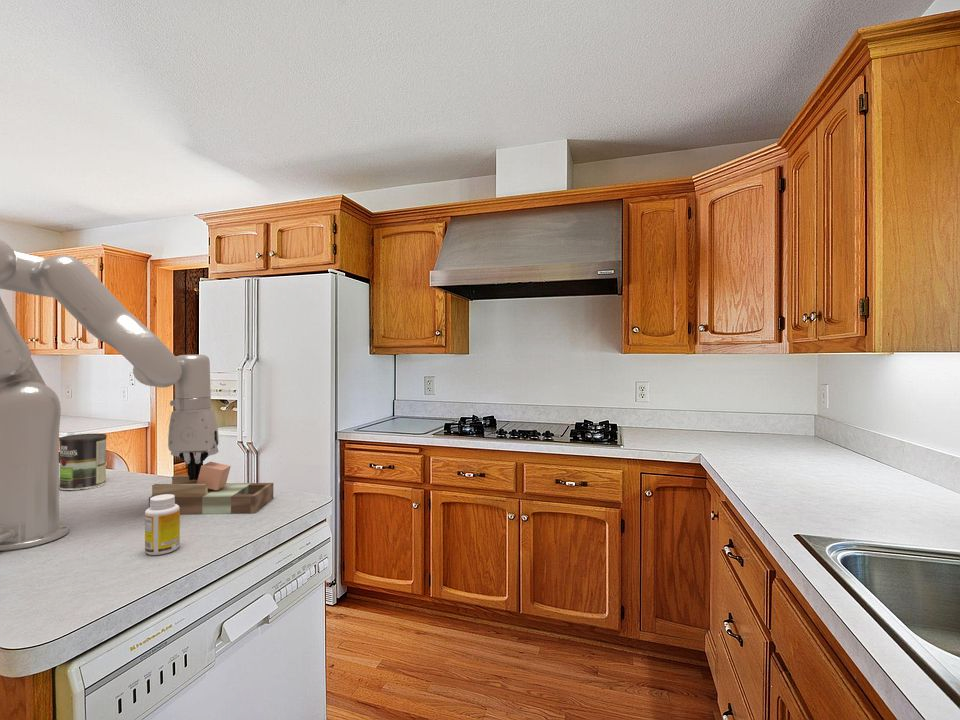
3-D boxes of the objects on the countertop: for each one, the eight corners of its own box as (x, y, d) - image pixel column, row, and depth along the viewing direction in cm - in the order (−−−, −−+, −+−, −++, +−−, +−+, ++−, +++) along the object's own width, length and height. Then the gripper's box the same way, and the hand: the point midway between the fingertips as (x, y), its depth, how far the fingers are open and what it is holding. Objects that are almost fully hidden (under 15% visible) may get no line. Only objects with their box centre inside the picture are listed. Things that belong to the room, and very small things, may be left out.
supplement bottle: (185, 544, 95) (185, 492, 95) (170, 555, 89) (170, 501, 89) (155, 545, 94) (155, 493, 94) (138, 556, 89) (138, 501, 88)
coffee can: (76, 492, 129) (76, 440, 129) (49, 489, 132) (49, 438, 132) (115, 483, 139) (115, 434, 138) (90, 480, 142) (90, 432, 141)
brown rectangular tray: (255, 513, 113) (255, 485, 113) (148, 514, 112) (148, 486, 111) (273, 498, 125) (273, 473, 125) (177, 499, 123) (177, 474, 123)
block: (217, 490, 116) (222, 470, 117) (195, 486, 116) (201, 465, 116) (225, 485, 121) (230, 465, 122) (205, 480, 121) (210, 461, 121)
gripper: (152, 407, 114) (155, 484, 114) (217, 405, 115) (220, 481, 116) (170, 403, 121) (172, 475, 122) (231, 402, 122) (233, 473, 123)
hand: (195, 478), depth 119 cm, fingers closed
